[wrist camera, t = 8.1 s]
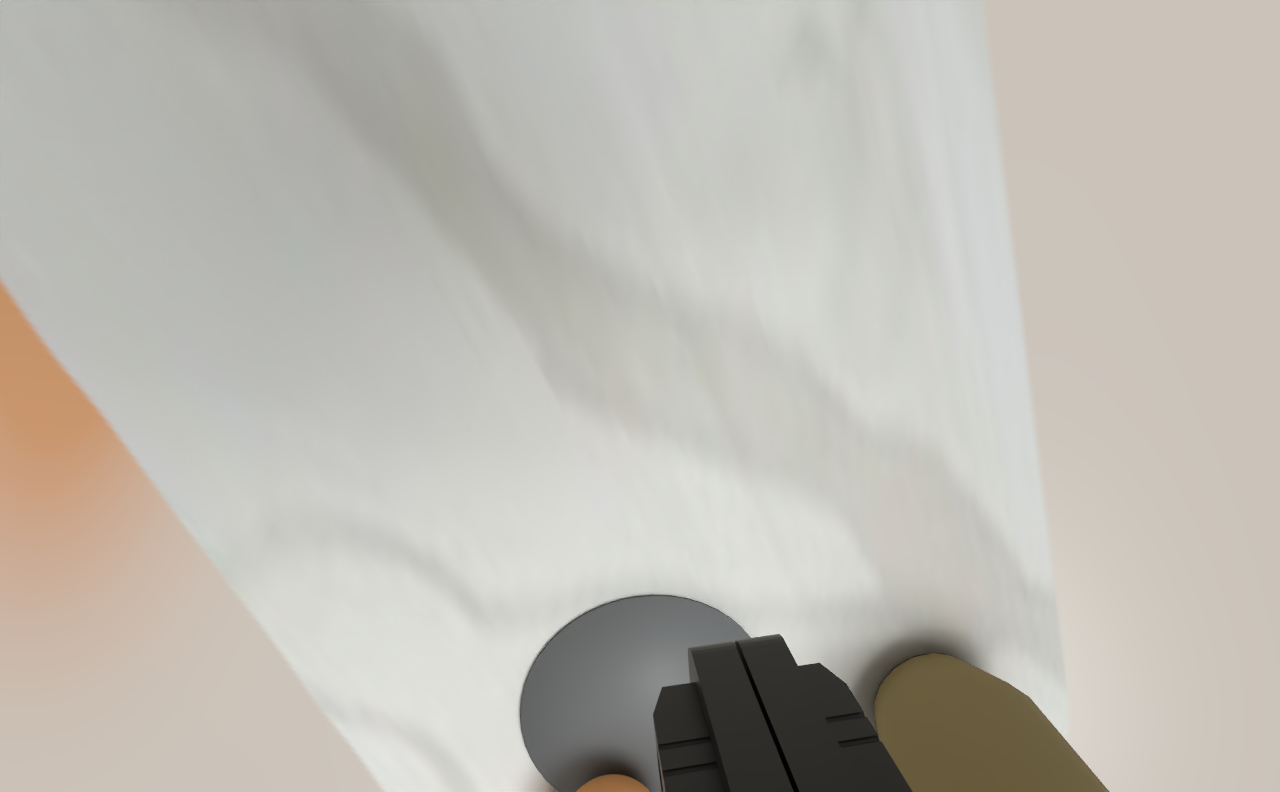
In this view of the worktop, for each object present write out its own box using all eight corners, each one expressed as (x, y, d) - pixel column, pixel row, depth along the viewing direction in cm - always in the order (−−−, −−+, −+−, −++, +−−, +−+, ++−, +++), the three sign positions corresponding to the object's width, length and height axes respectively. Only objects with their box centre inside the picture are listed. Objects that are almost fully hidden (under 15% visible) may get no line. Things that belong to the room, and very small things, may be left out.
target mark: (503, 614, 29) (503, 617, 29) (764, 578, 30) (766, 580, 30) (538, 830, 32) (538, 833, 32) (775, 791, 33) (776, 794, 33)
